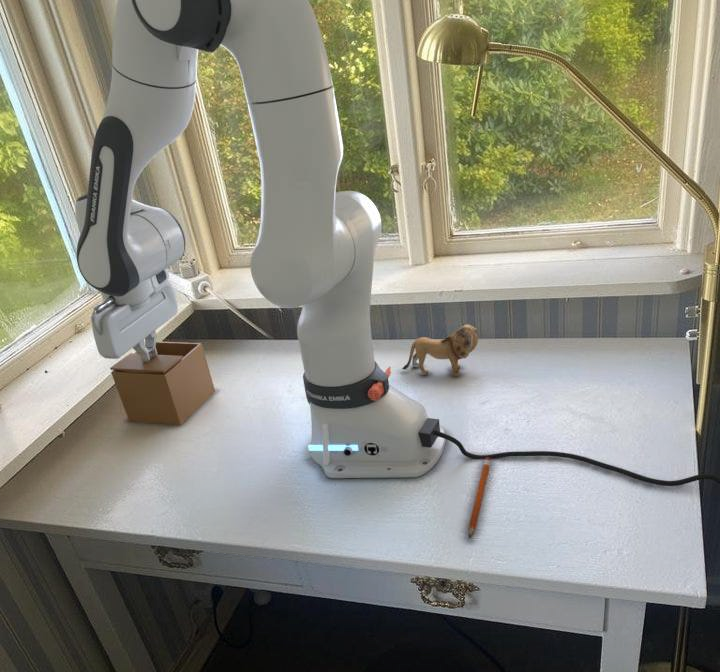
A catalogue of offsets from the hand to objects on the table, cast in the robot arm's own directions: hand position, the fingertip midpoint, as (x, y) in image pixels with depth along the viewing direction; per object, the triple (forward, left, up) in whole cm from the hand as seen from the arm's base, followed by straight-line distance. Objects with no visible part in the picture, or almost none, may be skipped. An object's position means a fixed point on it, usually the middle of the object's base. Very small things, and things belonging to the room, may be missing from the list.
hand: (149, 358), depth 134 cm
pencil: (-65, +16, -12) cm, 68 cm away
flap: (0, +1, 0) cm, 1 cm away
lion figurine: (-49, -22, -11) cm, 55 cm away
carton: (0, -2, -11) cm, 11 cm away
